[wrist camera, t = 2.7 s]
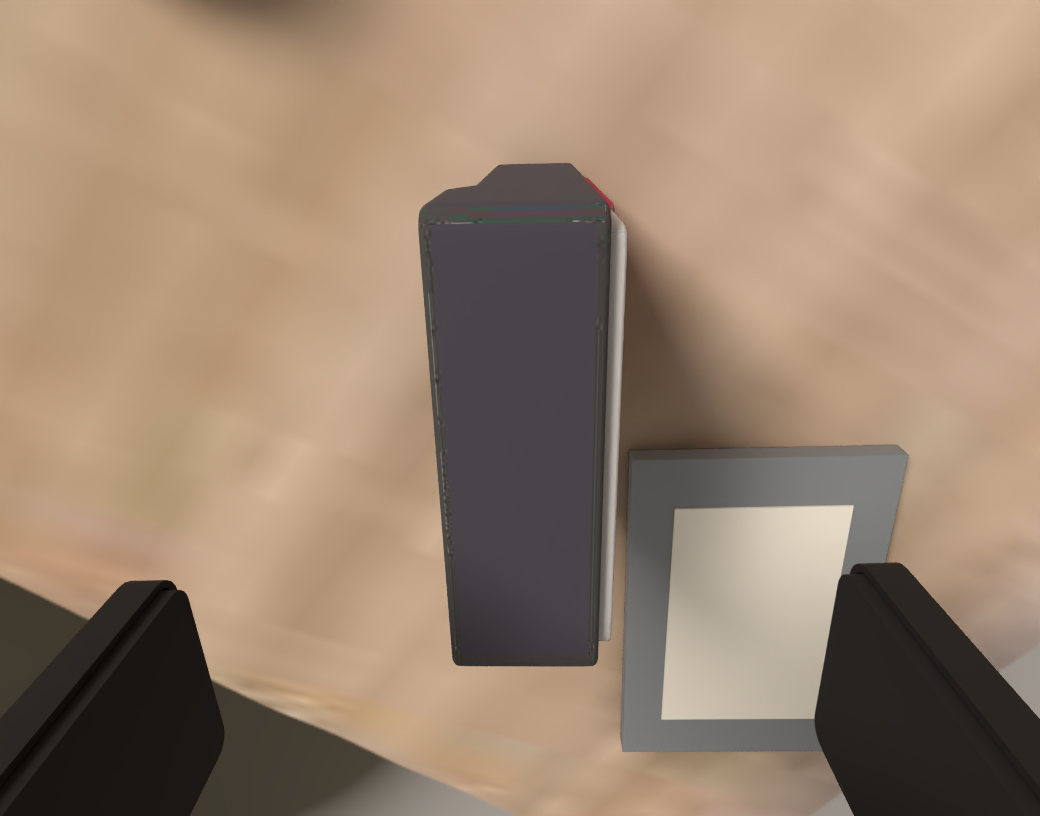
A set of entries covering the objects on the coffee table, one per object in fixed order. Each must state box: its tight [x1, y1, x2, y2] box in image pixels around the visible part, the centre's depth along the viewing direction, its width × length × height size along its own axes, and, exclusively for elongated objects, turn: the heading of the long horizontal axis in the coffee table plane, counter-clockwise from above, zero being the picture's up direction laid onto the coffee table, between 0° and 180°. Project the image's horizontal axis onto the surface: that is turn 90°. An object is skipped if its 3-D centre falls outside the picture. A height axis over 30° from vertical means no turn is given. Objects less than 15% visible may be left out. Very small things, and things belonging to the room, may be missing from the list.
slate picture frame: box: [620, 445, 908, 752], centre depth 33 cm, size 12×18×1 cm, turn 2°
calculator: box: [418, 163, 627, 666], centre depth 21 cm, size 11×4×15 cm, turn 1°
